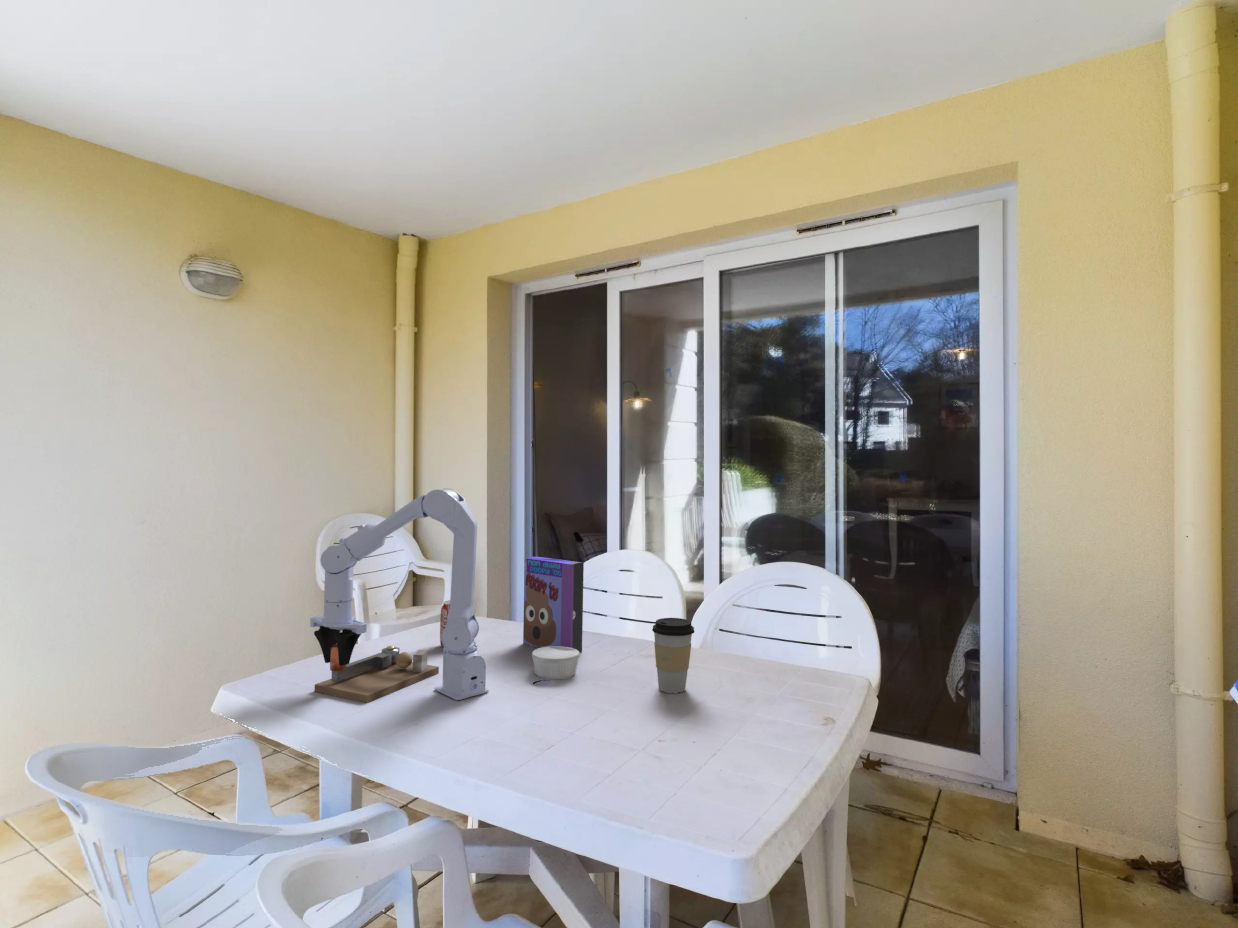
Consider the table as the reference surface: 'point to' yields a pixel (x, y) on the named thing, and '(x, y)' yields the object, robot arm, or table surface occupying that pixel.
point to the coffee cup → (672, 652)
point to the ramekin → (555, 662)
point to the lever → (361, 663)
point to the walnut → (404, 660)
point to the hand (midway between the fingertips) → (337, 663)
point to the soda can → (444, 617)
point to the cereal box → (553, 603)
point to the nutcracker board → (379, 680)
